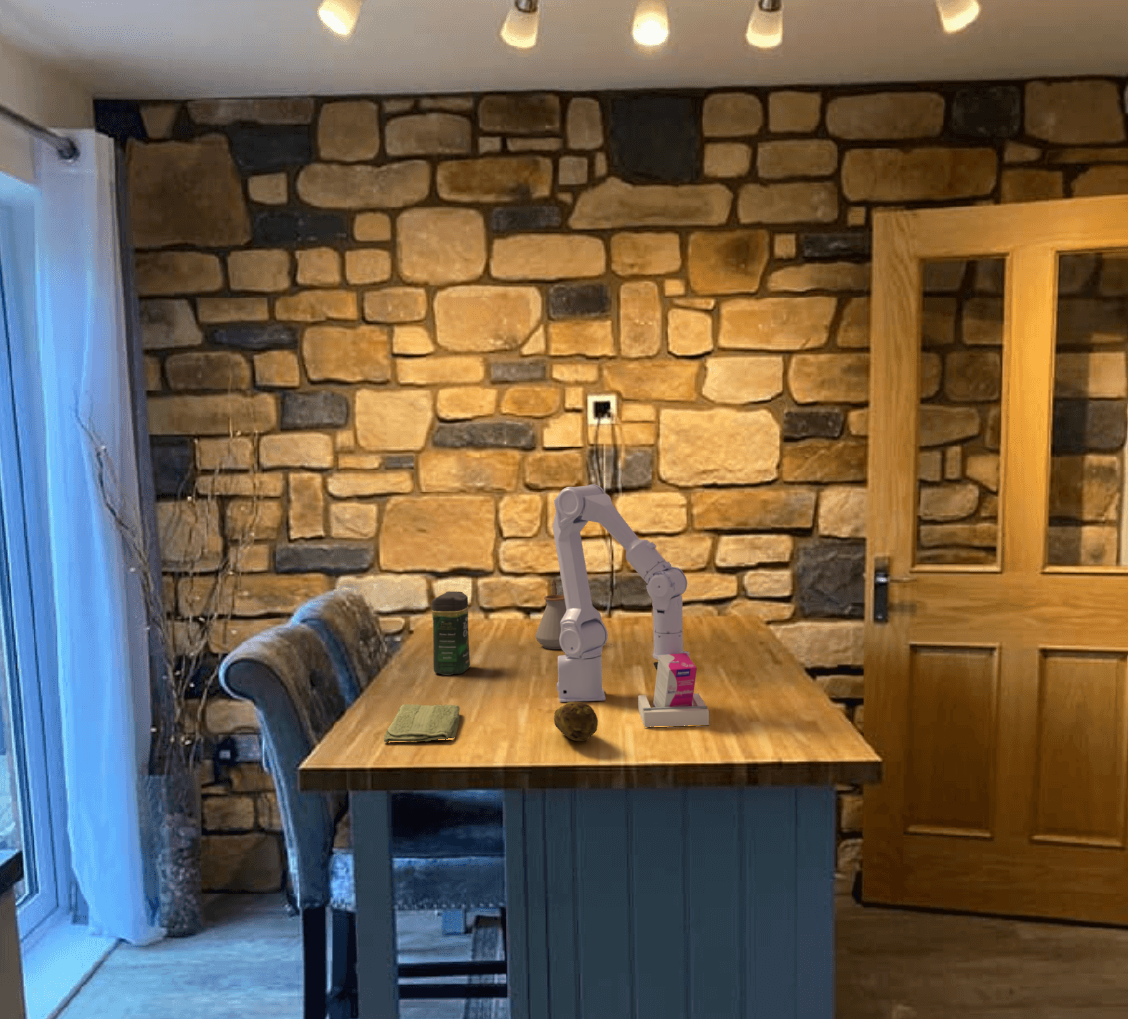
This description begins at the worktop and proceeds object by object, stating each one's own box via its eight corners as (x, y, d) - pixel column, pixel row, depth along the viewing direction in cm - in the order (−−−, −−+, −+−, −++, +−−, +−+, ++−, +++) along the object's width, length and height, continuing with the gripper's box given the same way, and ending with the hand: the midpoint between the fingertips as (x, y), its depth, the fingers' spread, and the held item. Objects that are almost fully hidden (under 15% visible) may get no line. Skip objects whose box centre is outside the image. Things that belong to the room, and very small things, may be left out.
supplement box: (663, 722, 177) (668, 669, 173) (652, 705, 182) (657, 653, 178) (691, 719, 178) (697, 666, 174) (680, 702, 184) (685, 651, 180)
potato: (600, 729, 173) (599, 687, 173) (597, 753, 161) (596, 708, 160) (555, 730, 174) (554, 687, 173) (549, 753, 161) (548, 708, 161)
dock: (644, 728, 174) (644, 711, 173) (638, 710, 185) (638, 694, 185) (709, 725, 174) (708, 708, 174) (698, 708, 185) (698, 692, 185)
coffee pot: (581, 650, 237) (579, 591, 235) (535, 651, 236) (534, 593, 235) (576, 632, 258) (574, 578, 257) (534, 633, 257) (532, 579, 256)
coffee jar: (463, 676, 214) (460, 596, 213) (430, 675, 215) (426, 596, 214) (474, 665, 224) (471, 589, 222) (442, 665, 225) (439, 589, 223)
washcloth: (381, 747, 168) (380, 730, 168) (398, 717, 186) (398, 701, 185) (454, 746, 168) (453, 728, 168) (464, 715, 186) (464, 700, 185)
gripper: (694, 638, 175) (695, 709, 176) (682, 622, 190) (683, 688, 191) (657, 639, 175) (658, 710, 176) (648, 623, 190) (649, 689, 191)
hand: (669, 698), depth 184 cm, fingers closed
